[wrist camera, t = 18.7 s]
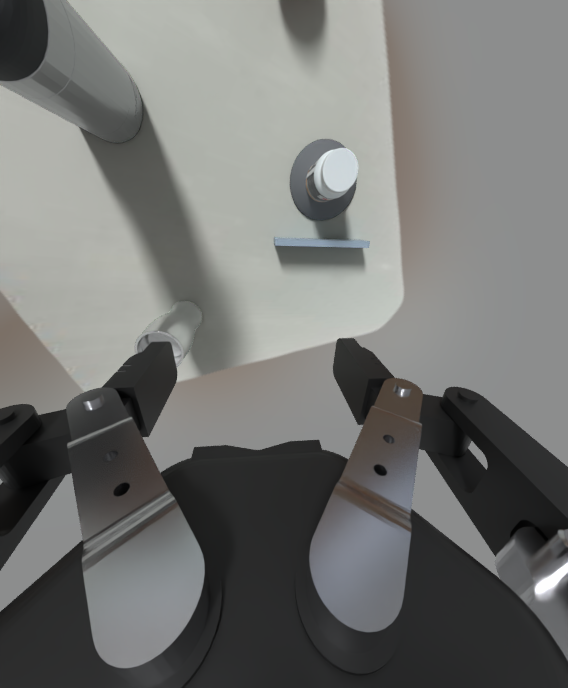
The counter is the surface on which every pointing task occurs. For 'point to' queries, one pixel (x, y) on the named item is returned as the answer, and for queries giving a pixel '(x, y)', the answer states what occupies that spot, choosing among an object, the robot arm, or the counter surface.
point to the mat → (299, 183)
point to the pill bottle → (332, 175)
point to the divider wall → (321, 242)
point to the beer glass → (173, 329)
